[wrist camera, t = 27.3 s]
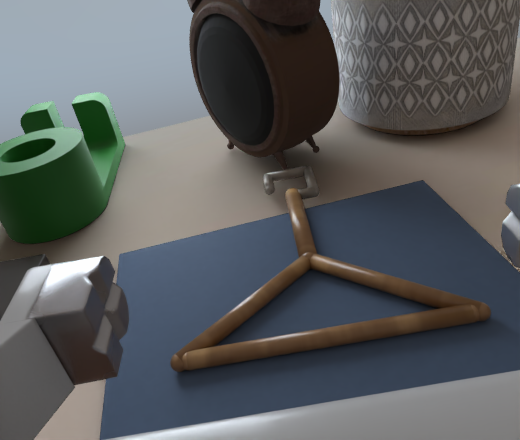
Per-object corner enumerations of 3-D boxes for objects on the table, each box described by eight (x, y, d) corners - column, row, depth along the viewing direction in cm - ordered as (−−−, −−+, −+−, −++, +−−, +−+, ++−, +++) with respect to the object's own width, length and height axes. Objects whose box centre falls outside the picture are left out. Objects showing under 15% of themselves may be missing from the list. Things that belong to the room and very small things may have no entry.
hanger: (495, 308, 24) (386, 147, 40) (166, 364, 24) (187, 183, 40) (493, 325, 25) (386, 160, 40) (172, 378, 25) (190, 195, 41)
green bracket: (99, 230, 40) (69, 162, 36) (-8, 252, 39) (-48, 186, 36) (125, 144, 55) (106, 90, 51) (48, 160, 55) (23, 106, 51)
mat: (681, 435, 19) (684, 429, 19) (85, 610, 17) (81, 606, 17) (422, 184, 37) (422, 179, 37) (121, 258, 36) (119, 254, 36)
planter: (417, 72, 59) (419, -44, 52) (545, 100, 46) (571, -48, 39) (309, 115, 53) (295, -9, 46) (423, 161, 40) (427, 0, 33)
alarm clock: (200, 151, 49) (143, -71, 38) (254, 126, 53) (216, -86, 42) (292, 195, 39) (251, -91, 28) (353, 161, 42) (336, -108, 31)
